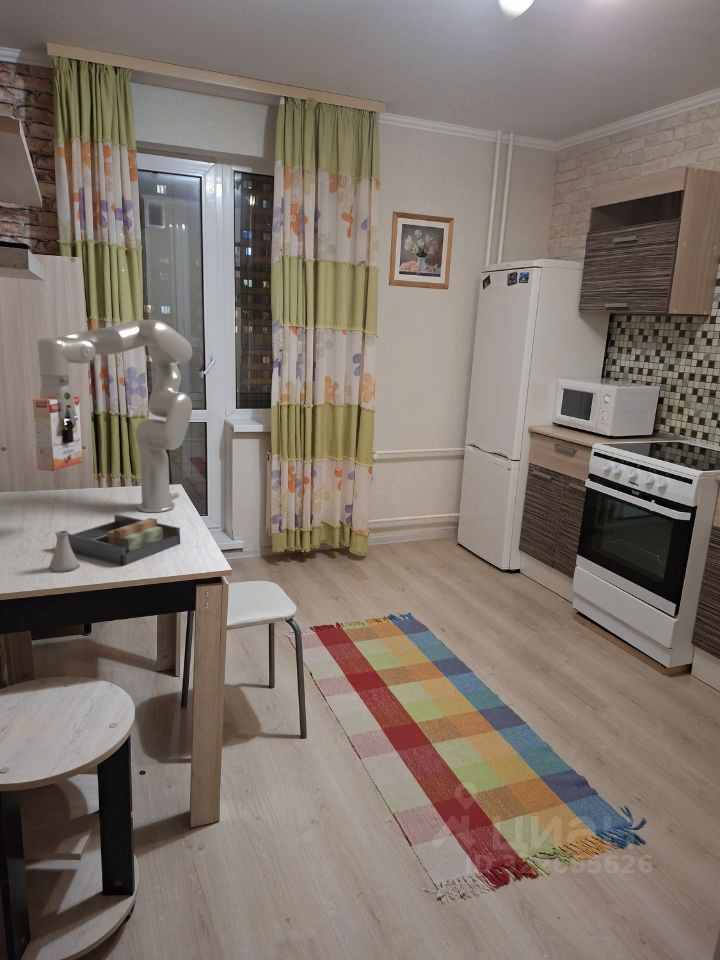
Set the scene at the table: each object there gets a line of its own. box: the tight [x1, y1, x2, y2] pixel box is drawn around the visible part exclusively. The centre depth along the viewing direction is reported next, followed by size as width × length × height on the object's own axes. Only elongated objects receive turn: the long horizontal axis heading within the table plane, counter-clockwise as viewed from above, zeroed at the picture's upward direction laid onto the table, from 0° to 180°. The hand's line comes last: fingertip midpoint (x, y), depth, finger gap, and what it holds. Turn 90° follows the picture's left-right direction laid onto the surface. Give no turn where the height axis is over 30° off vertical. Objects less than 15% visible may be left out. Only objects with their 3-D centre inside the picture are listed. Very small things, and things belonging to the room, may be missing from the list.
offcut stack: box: [106, 517, 163, 552], centre depth 188 cm, size 14×8×8 cm, turn 153°
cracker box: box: [32, 395, 83, 472], centre depth 195 cm, size 14×6×21 cm, turn 168°
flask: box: [48, 529, 81, 573], centre depth 173 cm, size 7×7×10 cm
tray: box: [68, 514, 181, 566], centre depth 191 cm, size 22×26×5 cm
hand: (59, 440), depth 196 cm, fingers closed on cracker box, 7 cm apart
